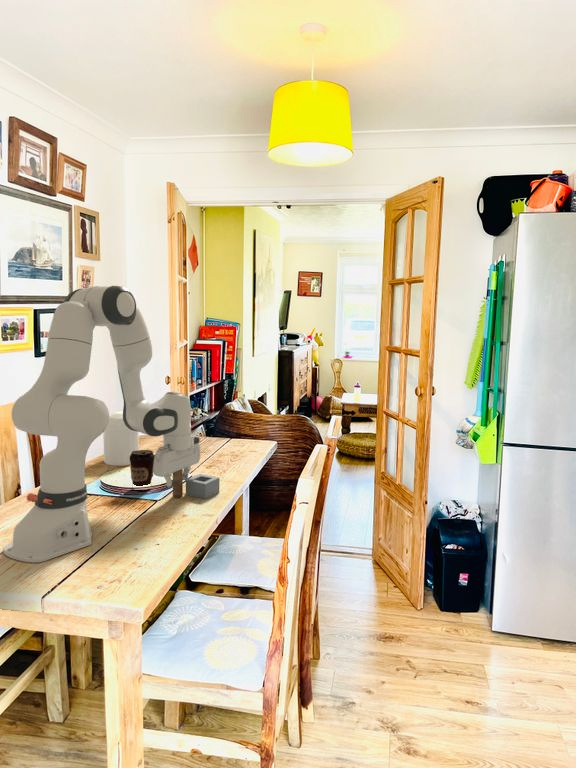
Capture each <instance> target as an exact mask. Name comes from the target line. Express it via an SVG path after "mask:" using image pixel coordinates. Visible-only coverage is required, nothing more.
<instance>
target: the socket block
mask: <svg viewBox="0 0 576 768" xmlns="http://www.w3.org/2000/svg"><path fill="white" fill-rule="evenodd" d="M218 493H220V477H218V476H213V475H207V474H202V473H200V474H197V475H194V476H192V477H188V479H187V480H185V496H191V497H195V498H199V497H200V499H204V498H206V499H209V498H210V497H212V496H214V495H217V494H218Z"/></svg>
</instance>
